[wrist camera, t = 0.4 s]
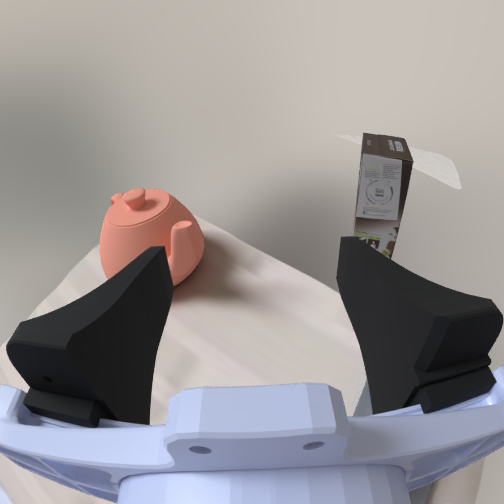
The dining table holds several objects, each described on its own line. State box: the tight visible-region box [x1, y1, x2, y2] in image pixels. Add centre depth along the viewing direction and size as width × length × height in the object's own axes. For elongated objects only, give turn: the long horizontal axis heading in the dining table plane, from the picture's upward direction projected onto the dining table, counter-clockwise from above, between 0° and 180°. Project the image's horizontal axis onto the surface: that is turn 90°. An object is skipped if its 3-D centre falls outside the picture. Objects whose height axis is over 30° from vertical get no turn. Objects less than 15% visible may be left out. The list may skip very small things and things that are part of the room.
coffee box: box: [352, 133, 413, 259], centre depth 40 cm, size 9×6×16 cm
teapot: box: [100, 188, 205, 286], centre depth 40 cm, size 22×16×12 cm
